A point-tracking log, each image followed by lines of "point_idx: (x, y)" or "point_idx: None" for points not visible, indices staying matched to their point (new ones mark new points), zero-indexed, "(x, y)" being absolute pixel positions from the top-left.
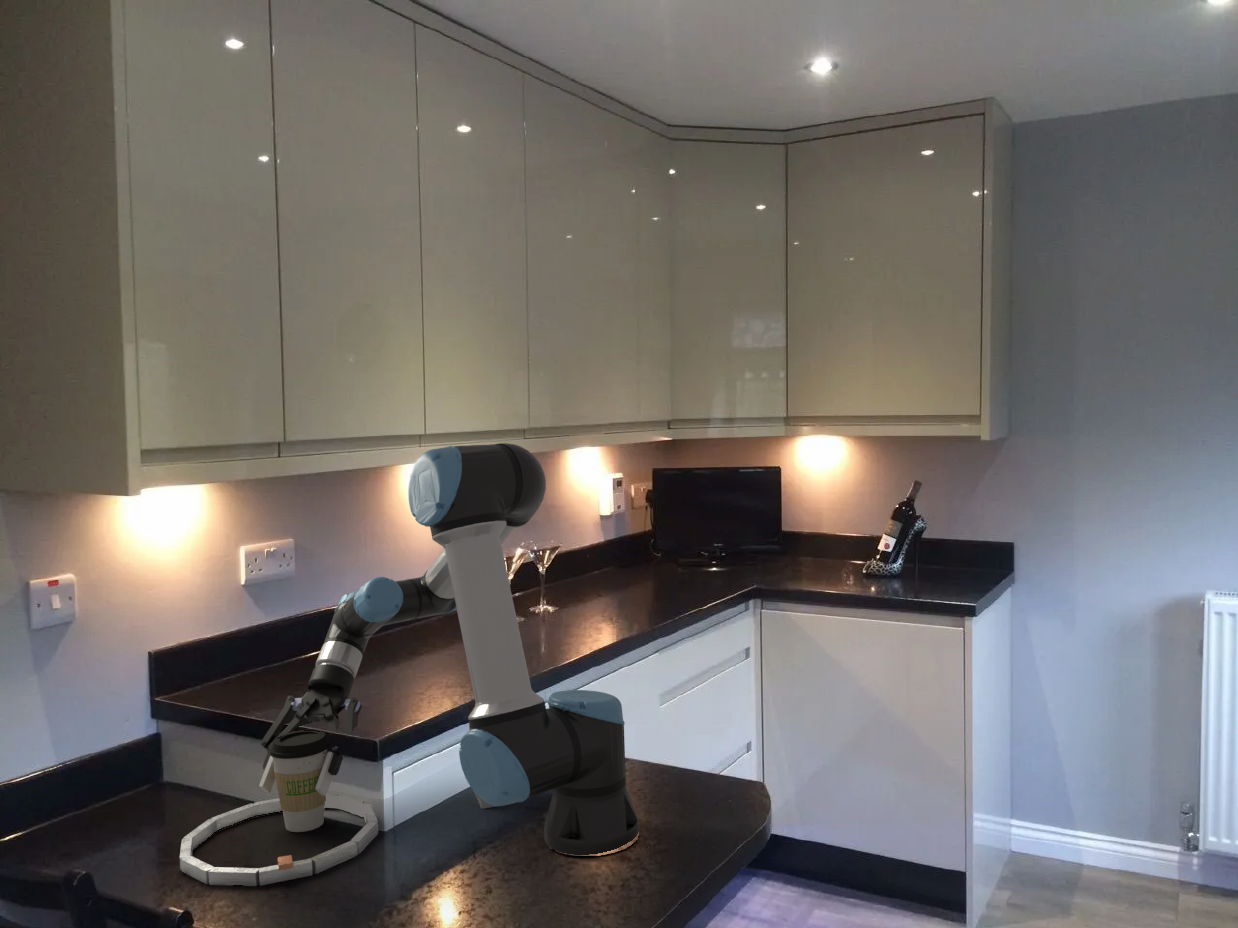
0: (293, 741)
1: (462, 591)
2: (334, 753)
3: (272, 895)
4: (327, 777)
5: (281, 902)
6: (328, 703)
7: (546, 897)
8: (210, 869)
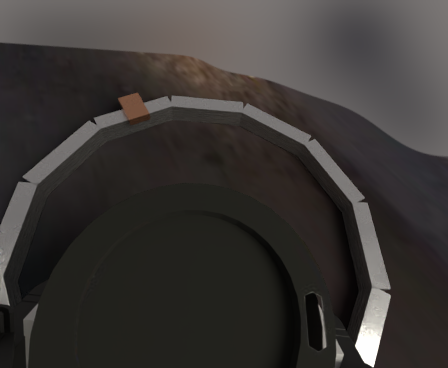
0: (215, 286)
1: None
2: (18, 336)
3: (139, 89)
4: None
5: (121, 75)
6: None
7: None
8: (244, 107)
